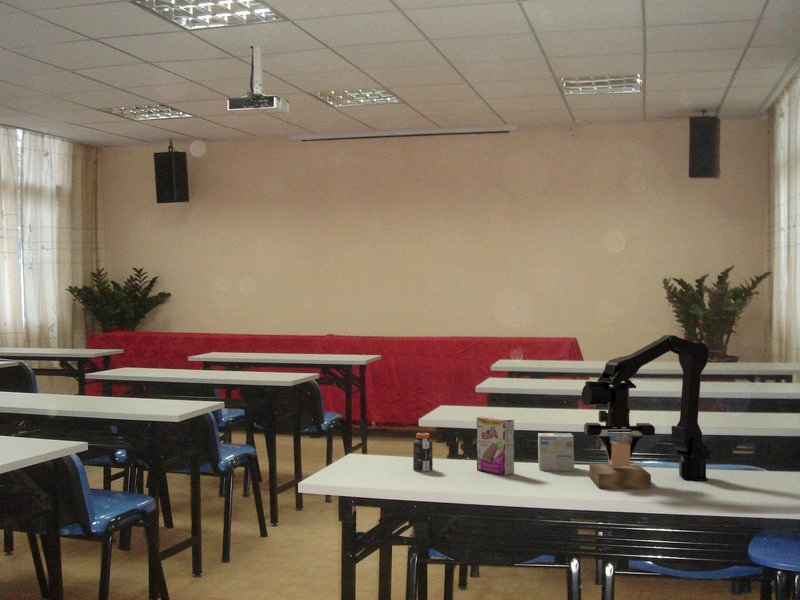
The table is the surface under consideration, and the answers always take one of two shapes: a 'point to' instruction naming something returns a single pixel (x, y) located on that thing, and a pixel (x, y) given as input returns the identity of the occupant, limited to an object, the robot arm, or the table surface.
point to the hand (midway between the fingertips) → (619, 459)
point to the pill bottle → (422, 453)
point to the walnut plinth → (620, 477)
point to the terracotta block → (620, 453)
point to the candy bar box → (495, 445)
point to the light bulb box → (556, 451)
